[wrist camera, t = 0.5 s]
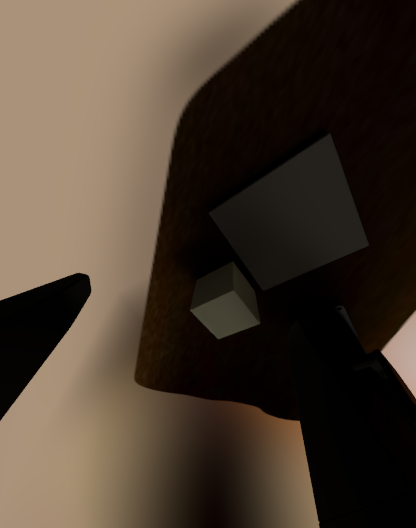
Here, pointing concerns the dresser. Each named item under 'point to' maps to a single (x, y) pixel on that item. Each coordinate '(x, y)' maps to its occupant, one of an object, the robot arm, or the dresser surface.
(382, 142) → the dresser surface
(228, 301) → the cube
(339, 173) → the mat
